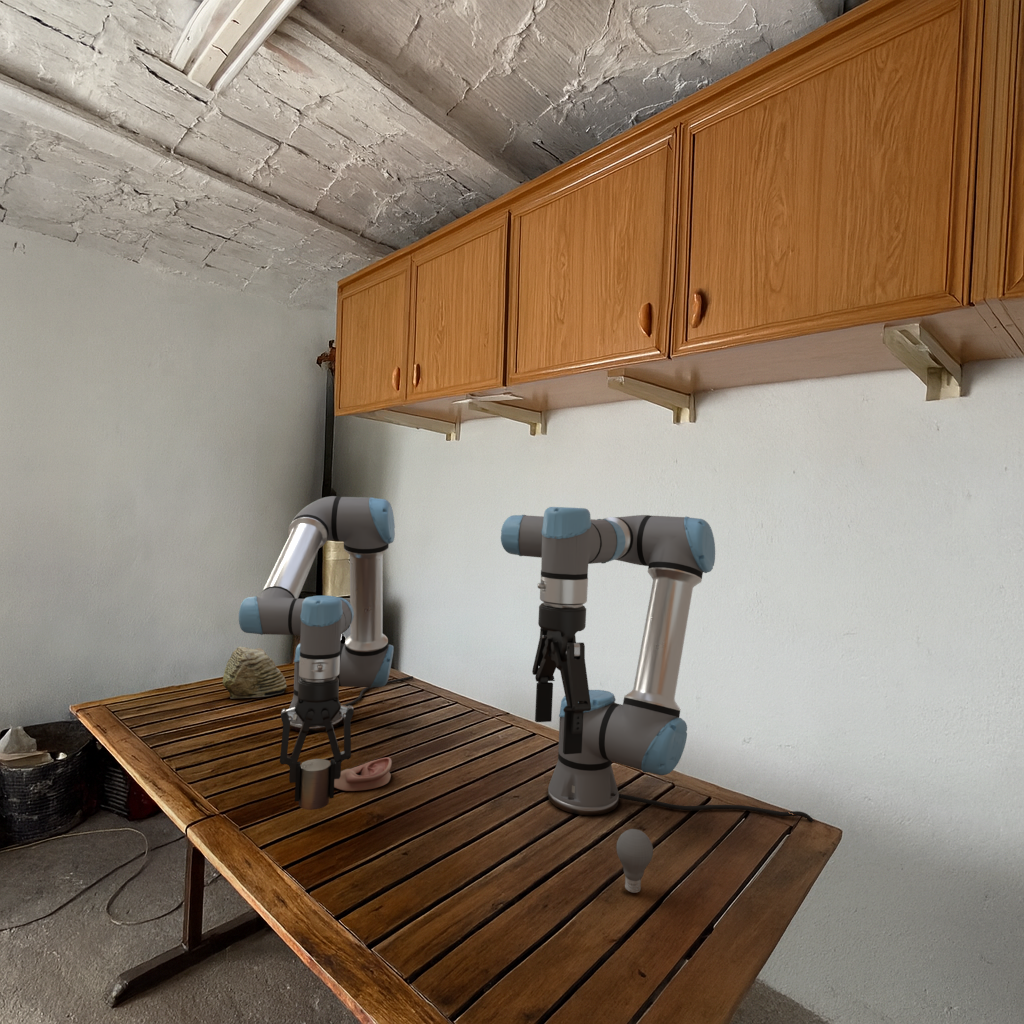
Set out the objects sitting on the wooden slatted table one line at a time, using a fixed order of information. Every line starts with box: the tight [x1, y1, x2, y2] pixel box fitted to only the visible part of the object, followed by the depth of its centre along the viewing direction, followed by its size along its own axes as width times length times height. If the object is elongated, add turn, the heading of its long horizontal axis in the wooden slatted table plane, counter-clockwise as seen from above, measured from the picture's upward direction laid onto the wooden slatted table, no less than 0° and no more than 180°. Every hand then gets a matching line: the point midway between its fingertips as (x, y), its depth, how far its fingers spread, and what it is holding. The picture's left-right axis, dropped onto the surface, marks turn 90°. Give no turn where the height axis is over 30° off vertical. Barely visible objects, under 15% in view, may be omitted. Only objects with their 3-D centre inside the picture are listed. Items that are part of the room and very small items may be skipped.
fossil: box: [222, 646, 288, 699], centre depth 198 cm, size 9×18×15 cm, turn 132°
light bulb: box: [615, 828, 654, 894], centre depth 106 cm, size 6×6×10 cm
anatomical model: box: [334, 756, 393, 792], centre depth 142 cm, size 13×4×12 cm
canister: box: [298, 758, 331, 811], centre depth 122 cm, size 6×6×7 cm
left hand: (314, 796), depth 122 cm, fingers closed on canister, 6 cm apart
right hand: (556, 736), depth 101 cm, fingers open, 13 cm apart
